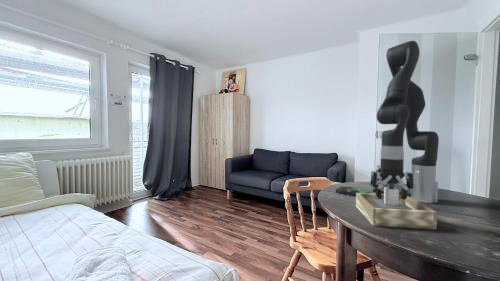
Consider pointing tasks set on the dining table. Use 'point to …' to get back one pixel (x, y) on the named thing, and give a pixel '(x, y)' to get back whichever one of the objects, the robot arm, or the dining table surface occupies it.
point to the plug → (391, 195)
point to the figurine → (379, 179)
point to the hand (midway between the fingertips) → (391, 198)
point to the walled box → (397, 213)
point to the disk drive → (350, 191)
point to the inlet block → (380, 204)
